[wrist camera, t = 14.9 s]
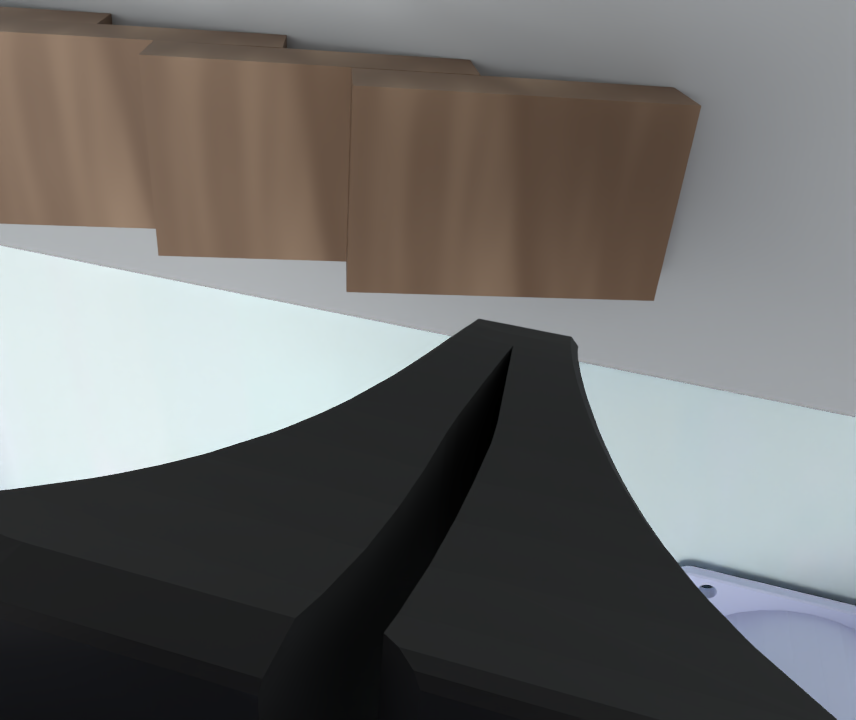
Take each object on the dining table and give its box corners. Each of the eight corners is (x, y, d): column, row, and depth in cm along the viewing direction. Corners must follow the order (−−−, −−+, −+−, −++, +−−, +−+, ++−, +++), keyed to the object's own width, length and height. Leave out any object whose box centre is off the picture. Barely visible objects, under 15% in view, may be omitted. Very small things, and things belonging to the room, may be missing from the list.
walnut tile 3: (282, 47, 18) (-51, 28, 17) (285, 232, 20) (-10, 223, 20) (286, 34, 20) (-23, 17, 19) (289, 210, 22) (13, 200, 21)
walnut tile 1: (701, 105, 16) (352, 85, 16) (654, 300, 19) (346, 292, 18) (673, 87, 18) (351, 67, 17) (632, 271, 20) (345, 261, 19)
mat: (1033, -25, 16) (1039, -24, 15) (852, 410, 21) (854, 417, 20) (-212, -150, 21) (-223, -151, 21) (-111, 218, 26) (-119, 221, 26)
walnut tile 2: (479, 74, 17) (138, 54, 17) (460, 265, 20) (158, 255, 19) (470, 59, 19) (153, 40, 18) (452, 239, 21) (170, 229, 20)
